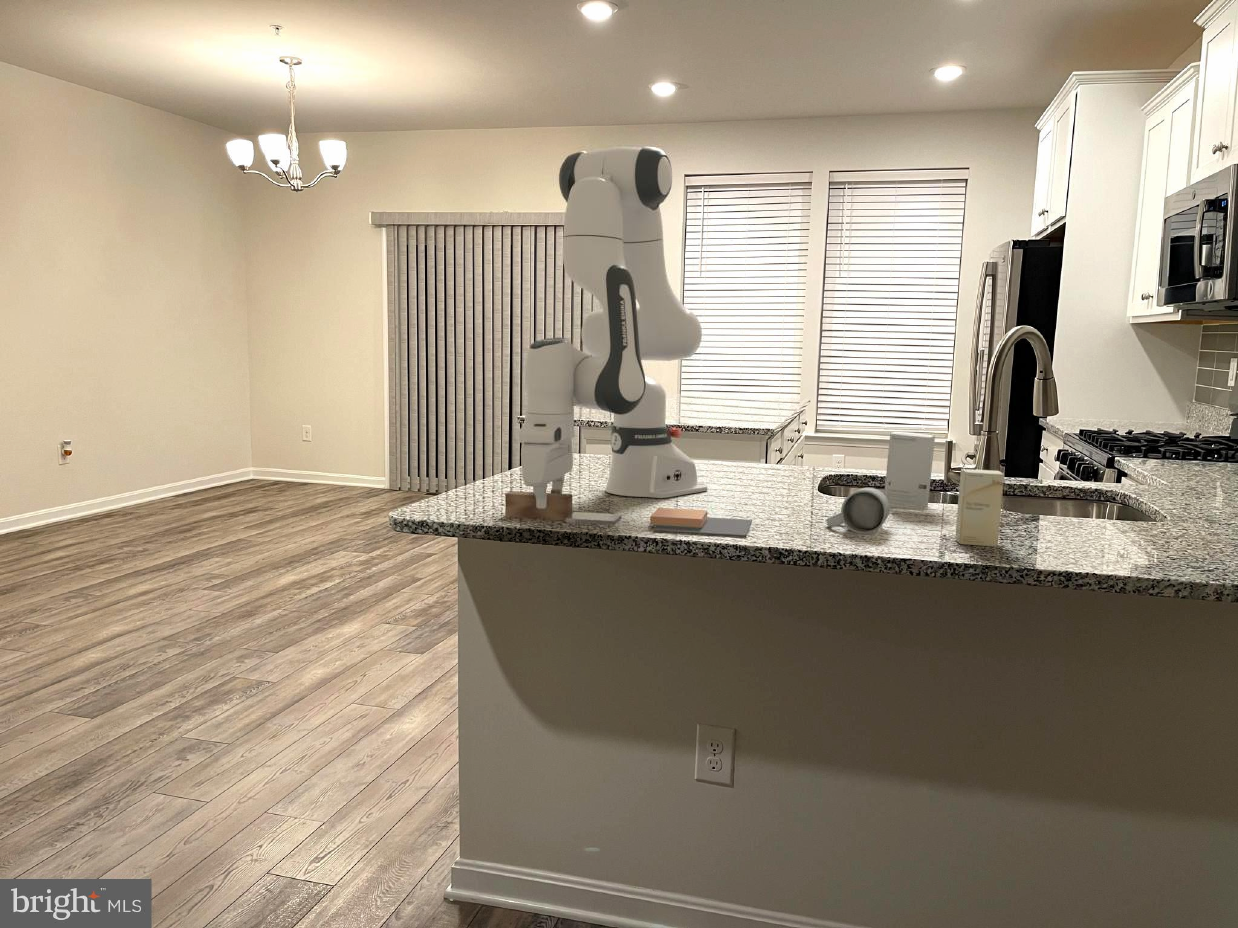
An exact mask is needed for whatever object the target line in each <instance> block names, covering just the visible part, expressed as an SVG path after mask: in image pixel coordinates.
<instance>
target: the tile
mask: <svg viewBox="0 0 1238 928" xmlns="http://www.w3.org/2000/svg"><path fill="white" fill-rule="evenodd" d="M707 517H708V510H707V509H692V508H671V507H670V508H669V507H657V509H656V510H655V511H653V512H652V514H651V515H650V518H649V519H650V520H649V522H650V523H649V525H651V526H652V527H655V526H658V527H674V528H691V529H700V528H702V526H703V524H704V523H705V521H706V519H707Z"/></svg>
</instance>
